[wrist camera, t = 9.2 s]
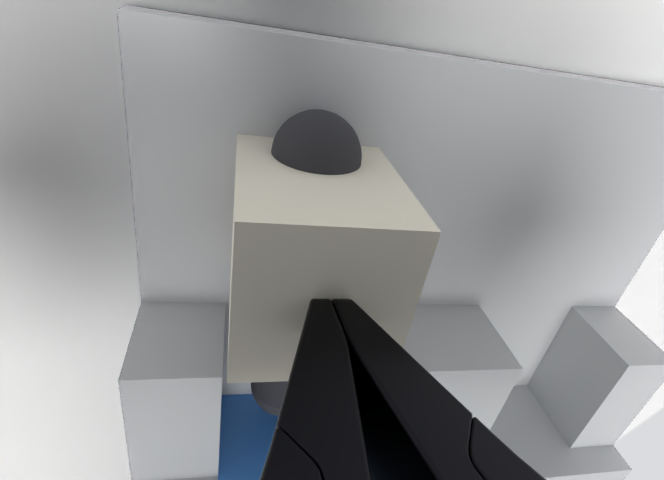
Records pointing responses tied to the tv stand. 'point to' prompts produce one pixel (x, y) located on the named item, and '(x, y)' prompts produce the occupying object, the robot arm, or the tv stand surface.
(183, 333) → the grey backboard with ledge
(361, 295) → the cream cube with dome
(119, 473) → the tv stand surface
